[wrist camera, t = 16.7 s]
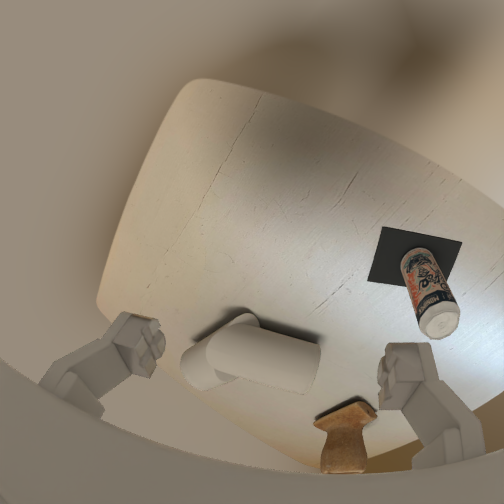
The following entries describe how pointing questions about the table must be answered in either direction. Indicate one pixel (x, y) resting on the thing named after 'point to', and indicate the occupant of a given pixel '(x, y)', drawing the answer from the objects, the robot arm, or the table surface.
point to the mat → (399, 244)
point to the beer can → (430, 294)
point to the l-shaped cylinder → (251, 358)
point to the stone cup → (345, 439)
